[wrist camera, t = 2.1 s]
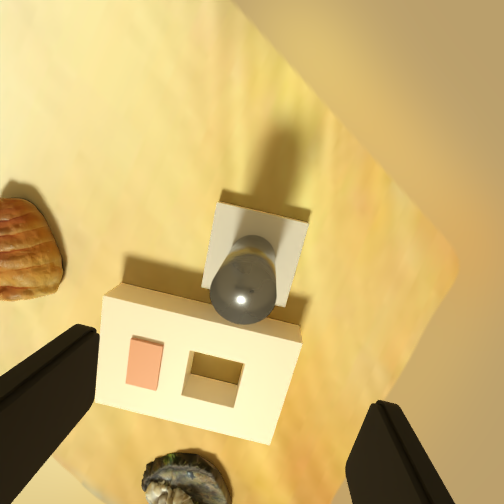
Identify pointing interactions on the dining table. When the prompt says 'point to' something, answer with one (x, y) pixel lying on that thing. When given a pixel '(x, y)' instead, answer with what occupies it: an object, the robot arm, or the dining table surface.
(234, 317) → the peg
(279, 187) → the dining table surface
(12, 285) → the pastry
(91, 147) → the dining table surface
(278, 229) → the pad
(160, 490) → the grey rounded lumpy piece
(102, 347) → the board
